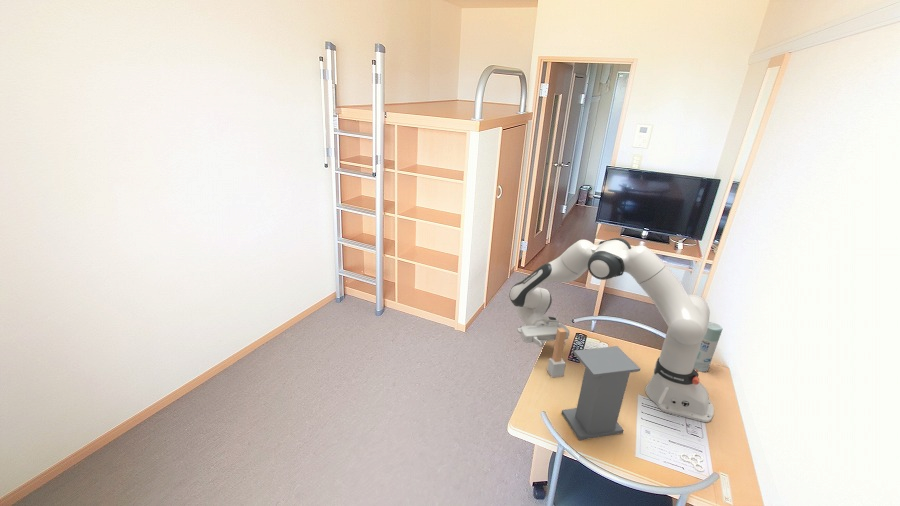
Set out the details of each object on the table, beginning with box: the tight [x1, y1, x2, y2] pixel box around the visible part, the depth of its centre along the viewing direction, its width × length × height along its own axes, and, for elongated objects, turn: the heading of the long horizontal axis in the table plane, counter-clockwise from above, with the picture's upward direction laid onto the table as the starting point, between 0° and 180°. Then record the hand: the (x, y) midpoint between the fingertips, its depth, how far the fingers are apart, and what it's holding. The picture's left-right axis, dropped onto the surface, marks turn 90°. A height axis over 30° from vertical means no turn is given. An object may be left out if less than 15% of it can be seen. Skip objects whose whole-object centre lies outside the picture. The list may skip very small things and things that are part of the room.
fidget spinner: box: [679, 453, 705, 473], centre depth 127 cm, size 7×6×1 cm
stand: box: [561, 345, 641, 441], centre depth 135 cm, size 12×16×26 cm
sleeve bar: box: [547, 328, 566, 378], centre depth 160 cm, size 20×5×4 cm
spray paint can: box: [694, 321, 723, 373], centre depth 168 cm, size 6×6×20 cm
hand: (553, 344), depth 163 cm, fingers open, 8 cm apart
